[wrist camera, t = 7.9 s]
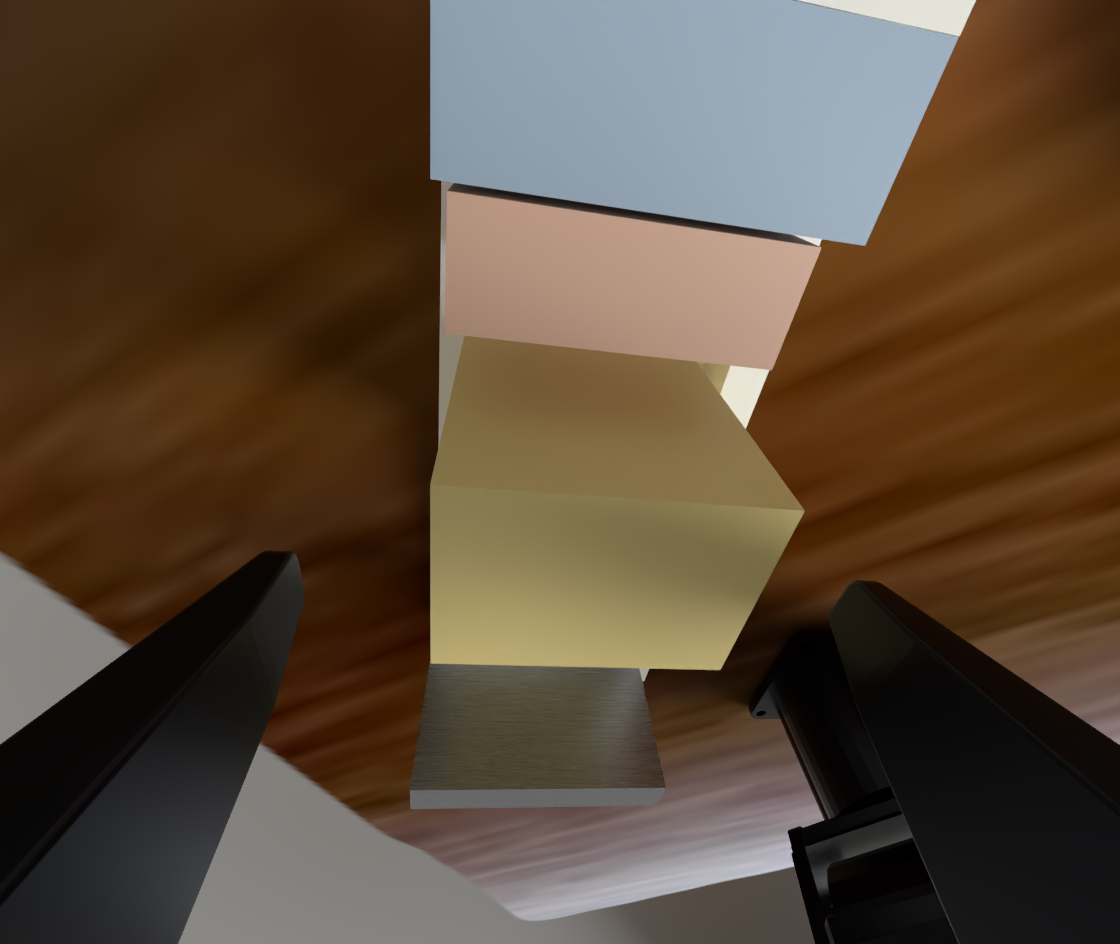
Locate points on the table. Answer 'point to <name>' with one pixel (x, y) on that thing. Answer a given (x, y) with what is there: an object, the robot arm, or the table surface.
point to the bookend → (534, 738)
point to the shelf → (664, 166)
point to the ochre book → (596, 512)
